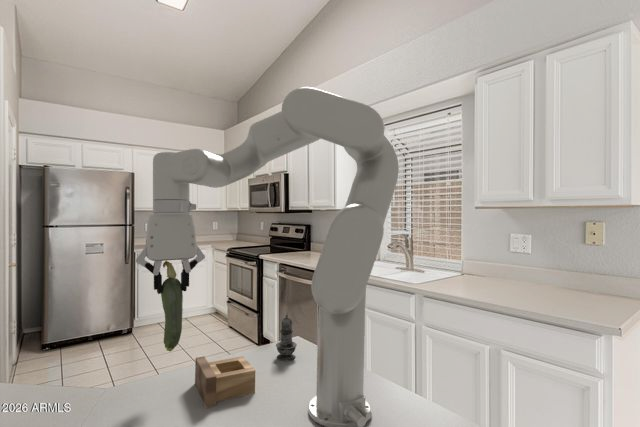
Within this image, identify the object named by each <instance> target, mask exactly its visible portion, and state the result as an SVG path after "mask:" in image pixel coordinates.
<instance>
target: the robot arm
mask: <svg viewBox="0 0 640 427" xmlns="http://www.w3.org/2000/svg"><path fill="white" fill-rule="evenodd" d="M284 97H285V98H284V99H283V101H282V104H281V111H279V112H277V113H274V114H272V115H270V116H268V117H265V118H263V119H261V120H258V121H255V122H253V123H252V124H251V125H250V126H249V129H248V134H247V137H246V139H245V140H244V141H243V142H242V143H241V144H240V145H238V146H237V147H235V148H233V149H232V150H229V151H227V152H224V153H222V154H219V155H217V154H215V153H212V152H209V151H207V150H205V149H200V148H192V149H191V148H190V149H185V150H181V151H177V152H175V151H174V152H173V151H163V152H161V151H160V152H157V153H155V155H153V158H152V214H149V215H148V218H147V224H146V235H145V247H144V248H143V249H142V250H141V252H139V254H138V255H137V256H136V259H135V262H136V264H138V265H140V266H142V267H143V268H146V269H147V270H148V271H149V272H150V273H151V274H153V290H156V292H157V294H158V295H161V293H162V284H163V282H162V281H163V275H162V274H161V271H160V270H161V267H162V264H163V262H165V261H167V262H169V261H180V262H181V264H182V271H181V272H180V283H181V285H182V292H187V290H188V289H187V287H190V274H191V271H193V269H194V268H195V267H196V266H197V265H198V264H199V263H200V262H202V261H203V260H204V259H205V258H206V255H205V254H204V252H203V251H202V250H201V249H200V247H199V246H198V245H197V237H196V228H195V221H194V217H193V215H192V214H190V213H191V211H196V210H197V204H196V203H192V202H191V201H190V184H192V185H196V186H197V185H198V186H204V187H209V188H215V189H217V188H223V187H226V186H229V185H231V184H233V183H236V182H238V181H241V180H243V179H245V178H247V177H249V176H251V175H252V174H254V173H256V172H257V171H258V170H260V169H262V168H263V167H265V166H266V165H267V164H268V163H269V162H271V161H273V160H275V159H278V158H280V157H282V156H284V155H287V154H290V153H292V152H294V151H296V150H299V149H301V148H303V147H306V146H308V145H310V144H311V145H312V144H313V143H315V142H317V141H319V140H324V141H326V142H329V143H332V144H335V145H339V146H341V147H343V149H344V150H345V152H346V154H348V156H349V157H351V158H352V159H353V161H355V163H356V173H355V177H354V179H353V180H352V183H351V188H350V192H349V193H348V194H349V195H348V197H347V200H346V202H345V205H344V207H343V208H341V209H340V210H339V211H338V212H337V213H336V214H335V215H334V217H333V219H332V221H331V224H330V225H329V228H328V231H327V234H326V237H325V240H324V243H323V246H322V248H321V252H320V254H319V257H318V260H317V263H316V266H315V269H314V272H313V275H312V278H311V288H310V289H311V295H312V296H313V300H314V302H315V303H316V305H317V306H318V317H317V319H318V320H317V348H316V349H317V350H316V352H317V353H316V354H317V355H316V356H317V357H316V395H315V396H314V397H313V398H312V399H311V400H310V401H309V403H308V414H309V416H310V418H311V419H312V420H313V421H314V422H315V423H317V424H318V425H320V426H323V427H365V425H366V423H367V422H368V421H369V420H370V419H371V418H372V416H373V414H372V407H371V405H370V404H369V402H368V401H367V399H366V396H365V395H364V391H365V390H364V387H365V386H364V385H365V382H364V380H365V379H364V377H365V376H364V374H365V333H366V332H365V331H366V330H365V329H366V301H367V300H366V299H367V297H366V296H367V295H366V294H367V285H368V282H369V278H370V276H371V273H372V271H373V268H374V265H375V262H376V260H377V257H378V253H379V251H380V248H381V245H382V241H383V239H384V238H383V237H384V233H385V232H384V231H385V229H384V226H385V221H386V219H387V214H388V212H389V210H390V206H391V203H392V198H393V195H394V193H395V189H396V186H397V182H398V178H399V159H398V156H397V153H396V151H395V149H394V146H393V144H392V143H391V142H390V140H388V138H387V137H386V136H385V124H384V120H383V118H382V116H381V115H380V114H379V113H378V111H377V110H375V108H373V107H371V106H370V105H368V104H365V103H363V102H360V101H356V100H353V99H349V98H347V97H343V96H340V95H338V94H334V93H331V92H328V91H326V90H325V91H324V90H323V89H318V88H315V87H311V86H310V87H309V86H302V87H301V86H300V87H298V88H295V89H292V90H291V91H290V92H288V94H286V96H284ZM146 258H147V259H148V260H150V261H152V262H154V263H153V264H152V263H150V262H149V261H147V260H146ZM189 260H190V261H189Z"/></svg>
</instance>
